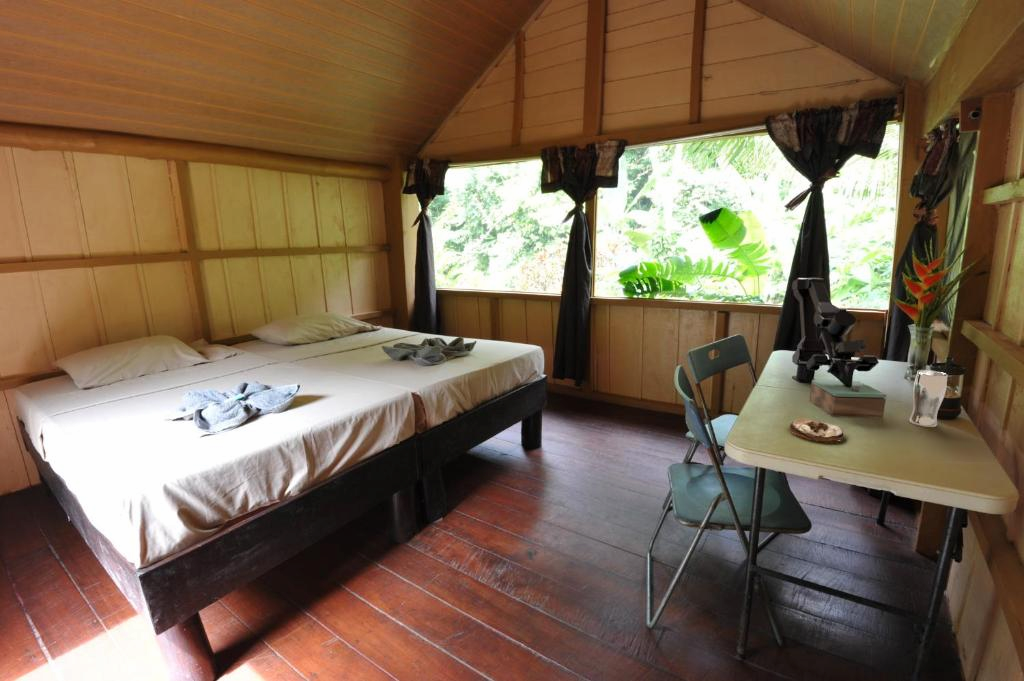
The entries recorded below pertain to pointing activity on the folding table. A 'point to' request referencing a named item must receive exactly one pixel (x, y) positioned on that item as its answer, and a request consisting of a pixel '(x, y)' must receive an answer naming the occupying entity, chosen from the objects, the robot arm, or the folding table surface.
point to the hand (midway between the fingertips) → (849, 387)
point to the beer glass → (927, 397)
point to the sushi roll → (816, 430)
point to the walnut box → (847, 404)
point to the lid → (848, 389)
